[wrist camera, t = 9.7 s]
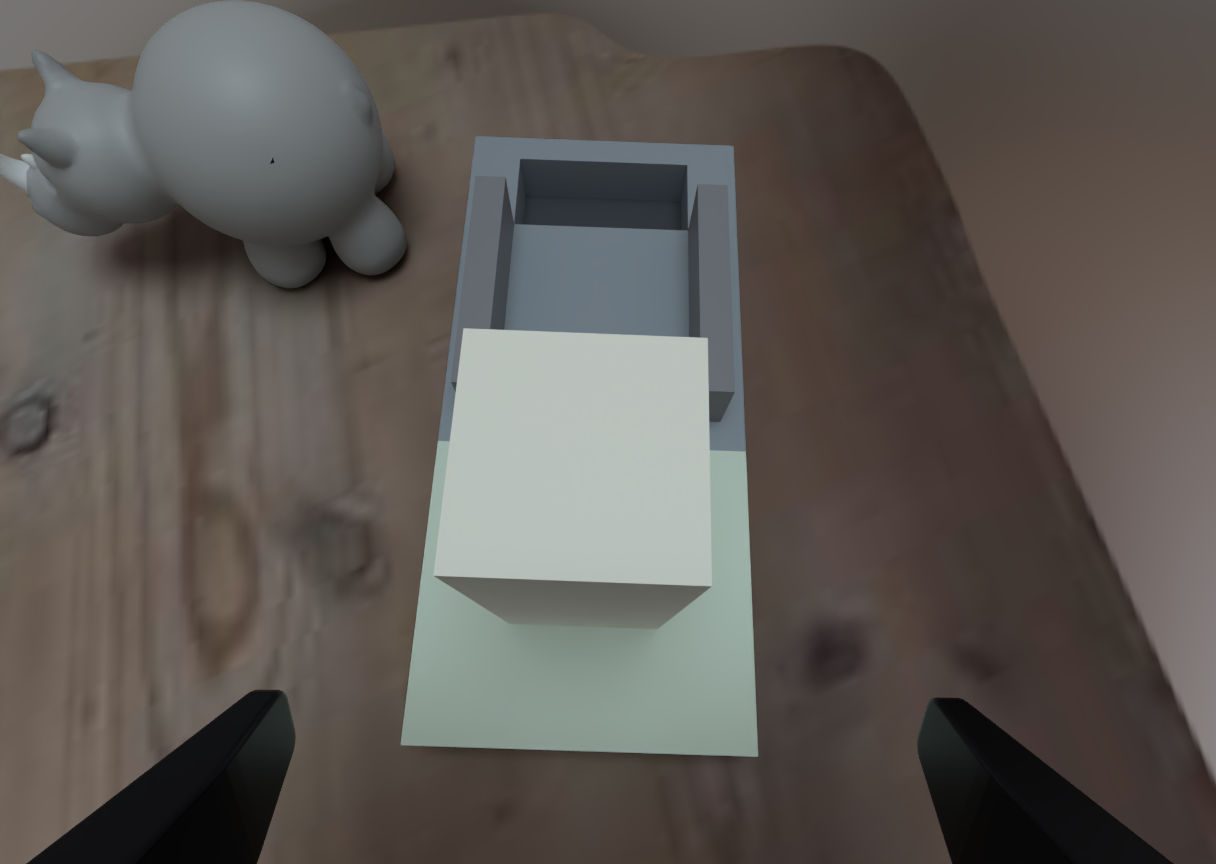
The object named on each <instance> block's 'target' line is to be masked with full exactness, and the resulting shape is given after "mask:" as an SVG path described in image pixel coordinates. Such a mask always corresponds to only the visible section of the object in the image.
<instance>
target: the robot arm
mask: <svg viewBox="0 0 1216 864" xmlns="http://www.w3.org/2000/svg"><path fill="white" fill-rule="evenodd" d="M295 739H296V735H295V728H294V724H293V720H292V716H291V711H290V707H289V703H288V699H287V696H286V694H285V693H284V692H283V691H280V690H254V691H252V692H250V693H248V694H247V695H245V696H244V697H243V698H241V699H240V700H239V701H237V702H236V703H235V704H233V705H232V706H231V707H230V708H228V709H227V710H226V711H224V712H223V713H222V714H220V715H219V716H218V717H217V718H215V719H214V720H213V721H211V722H210V723H209V724H207V725H206V726H205V727H204V728H202V729H201V730H200V731H198V732H197V733H196V734H194V735H193V736H192V737H191V738H189V739H188V740H187V741H185V742H184V743H183V744H181V745H180V746H179V747H178V748H176V749H175V750H174V751H172V752H171V753H170V754H168V755H167V756H166V757H165V758H163V759H162V760H161V761H159V762H158V763H157V764H155V765H154V766H153V767H152V768H150V769H149V770H148V771H146V772H145V773H144V774H142V775H141V776H140V777H139V778H137V779H136V780H135V781H133V782H132V783H131V784H129V785H128V786H127V787H126V788H124V789H123V790H122V791H120V792H119V793H118V794H116V795H115V796H114V797H113V798H111V799H110V800H109V801H107V802H106V803H105V804H103V805H102V806H101V807H100V808H98V809H97V810H96V811H94V812H93V813H92V814H90V815H89V816H88V817H87V818H85V819H84V820H83V821H81V822H80V823H79V824H77V825H76V826H75V827H74V828H72V829H71V830H70V831H68V832H67V833H66V834H64V835H63V836H62V837H61V838H59V839H58V840H57V841H55V842H54V843H53V844H51V845H50V846H49V847H48V848H46V849H45V850H44V851H42V852H41V853H40V854H38V855H37V856H36V857H35V858H33V859H32V860H31V861H29V862H28V863H27V864H257V862H258V859H259V856H260V853H261V850H262V847H263V844H264V841H265V838H266V835H267V832H268V829H269V826H270V822H271V819H272V816H273V813H274V810H275V807H276V804H277V801H278V798H279V795H280V791H281V788H282V785H283V782H284V779H285V776H286V773H287V770H288V767H289V763H290V760H291V757H292V754H293V751H294V746H295ZM917 748H918V755H919V759H920V762H921V765H922V769H923V772H924V775H925V778H926V781H927V785H928V788H929V791H930V794H931V798H932V801H933V804H934V807H935V810H936V814H937V817H938V820H939V823H940V827H941V830H942V833H943V836H944V839H945V843H946V846H947V849H948V852H949V855H950V858H951V861H952V864H1174V863H1172V862H1171V861H1170V860H1168V859H1167V858H1166V857H1165V856H1163V855H1162V854H1161V853H1160V852H1158V851H1157V850H1156V849H1154V848H1153V847H1152V846H1151V845H1149V844H1148V843H1147V842H1145V841H1144V840H1143V839H1142V838H1140V837H1139V836H1138V835H1137V834H1135V833H1134V832H1133V831H1131V830H1130V829H1129V828H1128V827H1126V826H1125V825H1124V824H1122V823H1121V822H1120V821H1119V820H1117V819H1116V818H1115V817H1114V816H1112V815H1111V814H1110V813H1108V812H1107V811H1106V810H1105V809H1103V808H1102V807H1101V806H1099V805H1098V804H1097V803H1096V802H1094V801H1093V800H1092V799H1091V798H1089V797H1088V796H1087V795H1085V794H1084V793H1083V792H1082V791H1080V790H1079V789H1078V788H1076V787H1075V786H1074V785H1073V784H1071V783H1070V782H1069V781H1068V780H1066V779H1065V778H1064V777H1062V776H1061V775H1060V774H1059V773H1057V772H1056V771H1055V770H1053V769H1052V768H1051V767H1050V766H1048V765H1047V764H1046V763H1045V762H1043V761H1042V760H1041V759H1039V758H1038V757H1037V756H1036V755H1034V754H1033V753H1032V752H1030V751H1029V750H1028V749H1027V748H1025V747H1024V746H1023V745H1022V744H1020V743H1019V742H1018V741H1016V740H1015V739H1014V738H1013V737H1011V736H1010V735H1009V734H1007V733H1006V732H1005V731H1004V730H1002V729H1001V728H1000V727H999V726H997V725H996V724H995V723H993V722H992V721H991V720H990V719H988V718H987V717H986V716H984V715H983V714H982V713H981V712H979V711H978V710H977V709H976V708H974V707H973V706H972V705H970V704H969V703H968V702H966V701H965V700H963V699H960V698H933V699H931V700H930V701H929V703H928V705H927V708H926V712H925V715H924V719H923V722H922V726H921V729H920V732H919V736H918V742H917Z"/></svg>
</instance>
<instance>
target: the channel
mask: <svg viewBox="0 0 1216 864" xmlns="http://www.w3.org/2000/svg"><path fill="white" fill-rule="evenodd" d="M463 328H470V329H495V330H521V331H546V332H571V333H596V334H622V335H647V336H672V337H697V338H708V379H709V438H710V497H711V556H712V587H711V588H709V589H708V590H707V591H705V592H704V593H703V594H702V595H700V596H699V597H698V598H697V599H695V600H694V601H693V602H692V603H690V604H689V605H688V606H686V607H685V608H684V609H683V610H681V611H680V612H679V613H678V614H676V615H675V616H674V617H672V618H671V619H670V620H669V621H667V622H666V623H665V624H664V625H662V626H661V627H660V628H659V629H638V628H612V627H585V626H559V625H532V624H509V623H507V622H506V621H504V620H503V619H501V618H500V617H498V616H496V615H495V614H493V613H492V612H490V611H488V610H487V609H485V608H484V607H482V606H480V605H479V604H477V603H476V602H474V601H473V600H471V599H469V598H468V597H466V596H465V595H463V594H461V593H460V592H458V591H457V590H455V589H454V588H452V587H450V586H449V585H447V584H446V583H444V582H442V581H441V580H439V579H438V578H436V577H435V576H433V574H434V566H435V558H436V550H437V542H438V533H439V525H440V517H441V509H442V500H443V492H444V484H445V476H446V468H447V459H448V451H449V443H450V435H451V427H452V418H453V410H454V402H455V394H456V385H457V377H458V369H459V361H460V353H461V344H462V336H463ZM401 745H409V746H440V747H471V748H502V749H533V750H564V751H595V752H626V753H657V754H688V755H719V756H749V757H758V741H757V717H756V692H755V667H754V643H753V618H752V593H751V568H750V544H749V519H748V494H747V470H746V445H745V420H744V396H743V371H742V346H741V322H740V297H739V272H738V248H737V223H736V198H735V173H734V149H733V146H721V145H694V144H667V143H640V142H614V141H587V140H560V139H533V138H507V137H480V136H476V138H475V146H474V154H473V162H472V170H471V178H470V186H469V195H468V203H467V211H466V219H465V227H464V235H463V243H462V251H461V259H460V267H459V276H458V284H457V292H456V300H455V308H454V316H453V324H452V332H451V340H450V348H449V357H448V365H447V373H446V381H445V389H444V397H443V405H442V413H441V421H440V429H439V438H438V446H437V454H436V462H435V470H434V478H433V486H432V494H431V502H430V510H429V519H428V527H427V535H426V543H425V551H424V559H423V567H422V575H421V583H420V591H419V600H418V608H417V616H416V624H415V632H414V640H413V648H412V656H411V664H410V672H409V681H408V689H407V697H406V705H405V713H404V721H403V729H402V737H401Z"/></svg>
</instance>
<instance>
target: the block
mask: <svg viewBox="0 0 1216 864" xmlns="http://www.w3.org/2000/svg"><path fill="white" fill-rule="evenodd" d="M433 576H435V577H436V578H438V579H439V580H441V581H442V582H444V583H446V584H447V585H449V586H450V587H452V588H454V589H455V590H457V591H458V592H460V593H461V594H463V595H465V596H466V597H468V598H469V599H471V600H473V601H474V602H476V603H477V604H479V605H480V606H482V607H484V608H485V609H487V610H488V611H490V612H492V613H493V614H495V615H496V616H498V617H500V618H501V619H503V620H504V621H506V622H507V623H509V624H532V625H559V626H585V627H612V628H638V629H659V628H660V627H661V626H662V625H664V624H665V623H666V622H667V621H669V620H670V619H671V618H672V617H674V616H675V615H676V614H678V613H679V612H680V611H681V610H683V609H684V608H685V607H686V606H688V605H689V604H690V603H692V602H693V601H694V600H695V599H697V598H698V597H699V596H700V595H702V594H703V593H704V592H705V591H707V590H708V589H709V588H711V587H712V556H711V497H710V438H709V379H708V338H697V337H672V336H647V335H622V334H596V333H571V332H546V331H521V330H495V329H470V328H463V336H462V344H461V353H460V361H459V369H458V377H457V385H456V394H455V402H454V410H453V418H452V427H451V435H450V443H449V451H448V459H447V468H446V476H445V484H444V492H443V500H442V509H441V517H440V525H439V533H438V542H437V550H436V558H435V566H434V574H433Z"/></svg>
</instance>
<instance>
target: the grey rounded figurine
mask: <svg viewBox="0 0 1216 864" xmlns="http://www.w3.org/2000/svg"><path fill="white" fill-rule="evenodd" d="M32 61H33V64H34V66H35V67H36V69H37V70H38V72H39V73H40V75H41V77H42V79H43V81H44V83H45V89H46V91H45V96H44V99H43V101H42V103H41V104H40V106H39V107H38V109H37V110H36V113H35V115H34V118H33V121H32V127H31V129H25V130H21V131H20V132H18V140H19V141H20V142H21V143H22V144H24V145H25V146H26V147H27V148H29V149H30V150H31V151H32V154H23V155H21V158H22V159H23V160H24V161H25V162H24V161H20V160H16V159H12V158H10V157H7V156H4V155H2V154H0V174H1V175H2V176H3V177H4V178H5V179H6V180H7V181H9V182H10V183H11V184H13V185H14V186H16V187H17V188H19V189H21V190H22V191H24V192H26V193H27V195H28V197H29V198H31V200H32V206H33V209H34V210H35V212H36V213H38V214H39V215H40V216H42V217H44V218H45V219H47V220H48V221H49V222H51V223H52V224H54V225H55V226H57V227H59V228H61V229H63V230H65V231H67V232H69V233H73V234H77V235H81V236H100V235H105V234H108V233H111V232H113V231H115V230H117V229H118V228H120V227H121V226H122V225H123V224H124V223H143V222H148V221H152V220H155V219H158V218H161V217H163V216H164V215H166V214H168V213H169V212H170V211H171V210H172V209H173V208H174V207H175V206H177V205H181V206H182V207H183V208H184V209H185V210H186V211H188V212H189V213H190V214H191V215H192V216H194V217H195V218H197V219H198V220H200V221H201V222H203V223H204V224H206V225H207V226H209V227H211V228H213V229H215V230H217V231H219V232H221V233H223V234H226V235H228V236H230V237H233V238H237V239H240V240H243V244H244V247H245V251H246V253H247V256H248V258H249V260H250V262H251V263H252V265H253V267H254V268H255V269H256V271H257V272H258V273H259V274H260V275H261V276H262V277H263V278H264V279H265V280H267V281H268V282H270V283H272V284H274V285H276V286H279V287H283V288H297V287H301V286H304V285H306V284H307V283H309V282H310V281H312V280H313V279H314V278H315V277H316V276H317V275H318V274H319V273H320V272H321V271H322V269H323V267H324V265H325V262H326V250H325V247H324V244H323V242H322V240H321V239H322V238H324V237H329V238H330V241H331V243H332V246H333V248H334V250H335V252H336V253H337V255H338V256H339V258H340V259H341V260H342V261H343V262H344V263H345V264H346V265H347V266H348V267H349V268H351V269H352V270H354V271H356V272H358V273H361V274H365V275H378V274H381V273H384V272H386V271H388V270H389V269H391V268H392V267H393V266H395V265H396V264H397V263H398V262H399V260H400V259H401V258H402V256H403V255H404V253H405V250H406V246H407V240H406V235H405V232H404V229H403V227H402V225H401V223H400V222H399V220H398V218H397V217H396V216H395V214H394V213H393V212H392V211H391V210H390V209H389V208H388V206H387V205H385V204H384V203H383V202H382V201H381V200H380V199H378V198H377V197H376V196H375V194H376V193H378V192H380V191H381V190H382V189H383V188H384V187H385V186H386V185H387V184H388V183H389V181H390V180H391V178H392V175H393V172H394V167H395V160H394V155H393V152H392V149H391V147H390V144H389V142H388V141H387V139H386V137H385V136H384V134H383V133H382V129H381V123H380V118H379V114H378V111H377V108H376V104H375V102H374V99H373V97H372V94H371V92H370V90H369V88H368V86H367V84H366V82H365V80H364V79H363V77H362V75H361V74H360V72H359V70H358V69H357V68H356V66H355V65H354V64H353V62H352V61H351V60H350V58H349V57H348V56H347V55H346V54H345V53H344V51H343V50H342V49H341V48H340V47H339V46H338V45H337V44H336V43H335V42H333V41H332V40H331V39H330V38H329V37H328V36H327V35H325V34H324V33H323V32H321V31H320V30H319V29H317V28H316V27H315V26H313V25H312V24H310V23H308V22H306V21H305V20H303V19H301V18H299V17H298V16H295V15H293V14H292V13H289V12H287V11H284V10H282V9H279V8H276V7H273V6H269V5H265V4H262V3H256V2H249V1H236V0H234V1H233V0H229V1H218V2H212V3H206V4H203V5H200V6H196V7H193V8H191V9H189V10H187V11H184V12H182V13H180V14H179V15H177V16H175V17H174V18H172V19H171V20H169V21H168V22H167V23H166V24H164V25H163V26H162V27H161V28H160V29H159V30H158V32H156V33H155V34H154V36H153V37H152V38H151V39H150V41H149V42H148V44H147V45H146V46H145V48H144V50H143V52H142V54H141V57H140V59H139V63H138V66H137V70H136V74H135V79H134V84H133V89H132V91H129V90H127V89H124V88H121V87H118V86H115V85H110V84H105V83H91V82H85V81H82V80H80V79H78V78H77V77H75V76H74V75H73V74H72V73H71V72H70V71H69V70H67V69H66V68H65V67H64V66H63V65H62V64H61V63H59V62H58V61H56V60H55V59H53V58H52V57H51V56H49V55H48V54H46V53H44V52H41V51H38V50H33V51H32Z"/></svg>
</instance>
